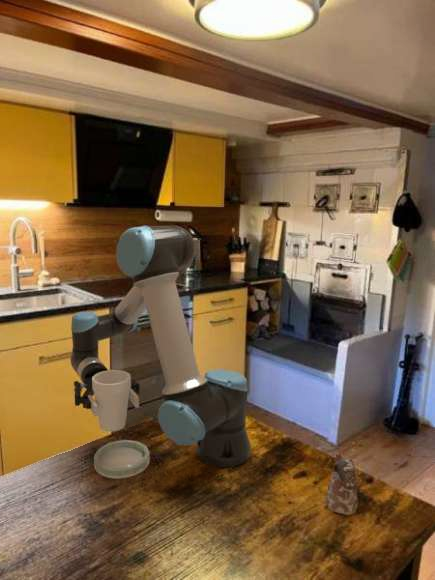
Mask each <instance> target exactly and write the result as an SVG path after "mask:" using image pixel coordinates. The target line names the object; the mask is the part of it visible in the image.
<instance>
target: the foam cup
mask: <svg viewBox="0 0 435 580" xmlns="http://www.w3.org/2000/svg"><path fill="white" fill-rule="evenodd" d="M131 380H132V377H131V374H130V373H129V372H127V371H125V370H119V369H117V370H116V369H110V370H109V369H108V371H102V372H100V373H97V374H95V375H94V376H93V377H92V389H93V391H94V395H93V396H94V400H95V402H96V404H97V405H98V416H97V419H98V425H99V428H100V429H101V430H102V431H104V432H116V431H120V430H121V429H122V430H123V428H124V427H126V422H127V421H126V420H127V414H128V407H129V406H128V405H129V391H130V387H131Z"/></svg>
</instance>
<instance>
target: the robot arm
mask: <svg viewBox="0 0 435 580" xmlns="http://www.w3.org/2000/svg"><path fill="white" fill-rule="evenodd" d="M196 251H197V250H196V242H195V240H194V237H193V236H192V234H191V233H190V232H189V231H188V230H186V229H185V228H183V227H181V226H178V225H169V224H168V225H142V226H137V227H136V226H135V227H131V228H128V229H127V230H125V231H124V232H123V233H122V234H121V235H120V237H119V241H118V243H117V245H116V251H115V252H116V253H115V257H116V258H115V259H116V263H117V266H118V269H120V271H121V272H122V273H123V274H124V275H125V276H128V277H131V280H132V283H133V286H132V287H131V289H130V290H129V291H128V292H127V293H126V295H125V296H124V297H123V299H122V300H121V301H120V302H119V303H118V305H117V306H116V307H115V308H114V310H113V311H112V312H110V313H107V314H106V313H105V314H103V315H98V314H97V313H96V312H94V311H88V310H87V311H79V312H76V313H74V314H73V315H72V317H71V324H70V325H71V338H72V353H71V355H70V365H71V368H72V369H73V370H74V371H75V373H76V374H77V376H78V378H79V379H80V381H81V382H79V381H78V380H75V381H73V391H74V406H76V407H77V406H80V405H82V408H83V409H86V410H90V411H91V413H92V415H93V416H94V418H95V417H96V418H98V405H97V404H96V402H95V398H93V396H94V391H93V389H92V377H93V376H94V375H95V374H97V373H100V372H102V371H108V370H109V369H108V368H107V367H106V366H105V364H104V363H103V362H102V361H101V359H100V357H99V342H100V341H103V340H107V339H110V338H114V337H118V336H121V335H126V334H129V333H130V332H133V331H135V330H136V329H137V326H138V324H139V323H138V322H139V321H138V319H139V318H140V317H141V316H142V315H143V314H144V312H145V311H146V313H147V316H148V320H149V324H150V329H151V332H152V336H153V339H154V343H155V346H156V347H155V348H156V352H157V355H158V358H159V362H160V365H161V371H162V374H163V378H164V382H165V386H164V388H162V391H161V395H162V399H163V402H162V404H161V405H160V406H159V408H158V412H157V420H158V424H159V426H160V428H161V431H163V433H164V435H165V436H166V437H167V438H168V439H170V440H171V441H172V442H173V443H175V444H177V445H180V446H185V447H186V446H191V445H193V444H195V443H196V455H197V457H198V458H199V459H200V460H201V461H202V462H204V463H205V464H208V465H210V466H214V467H217V468H219V467H220V468H231V467H237V466H240V465H242V464H244V463H245V462H247V461H248V459H250V457H251V454H252V453H251V452H252V451H251V449H252V445H251V442H250V439H249V434H248V431H247V427H246V423H247V422H246V421H247V407H248V406H247V403H248V391H249V390H248V381H247V378H246V377H245V375H243V374H241V373H240V372H237V371H234V370H227V369H211V370H208V371H206V372H205V374H204V376H202V374H200V371H199V368H198V364H197V360H196V356H195V353H194V348H193V344H192V342H191V337H190V332H189V330H188V325H187V322H186V318H185V314H184V311H183V306H182V304H181V303H182V302H181V298H180V296H179V295H180V294H179V291H178V288H177V284H176V281H177V279H178V278H180V277H181V276H182V275H183V274H184V273H185V272H186V271H187V270H188V269H189V267H190V266H191V264H192V263H193V261H194V259H195V256H196V253H197V252H196ZM140 387H141V386H140V383H138V382H137V381H135V380H133V379H131V387H130V391H129V399H128V401H130V402H131V403H132V404H133V406H134V407H135V408H136V409H138V408H140V397H139V394H140V393H141V392H140V389H141V388H140ZM83 389H86V390H85V391H84V392H83ZM81 392H83V394H82V393H81Z"/></svg>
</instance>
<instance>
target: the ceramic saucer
mask: <svg viewBox="0 0 435 580" xmlns="http://www.w3.org/2000/svg"><path fill="white" fill-rule="evenodd" d="M150 454H151V452H150V451H149V449H148V447H147V445H146V444H145V443H141V442H139V441H137V440H131V439H130V440H129V439H121V440H116V441H111V442H108V443H107V444H105V445H102V446H101V447H99V448H98V449H97V451H96V452H95V454H94V455H93V466H94V467H93V468H94V470H95V471H96V473H97V474H98V475H100V476H102V477H105V478H107V479H115V480H116V479H117V480H119V479H127V478H132V477H134V476H137V475H138V474H141V473H142V472H144V471H145V470H147V468H148V466H149V464H150V460H151V457H150Z"/></svg>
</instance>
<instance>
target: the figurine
mask: <svg viewBox="0 0 435 580" xmlns="http://www.w3.org/2000/svg"><path fill="white" fill-rule="evenodd" d="M335 457H336V461H334V463H333V465H332V472H333V473H332V476H331V477H330V479H329V482H328V486H327V488H326V493H325V504H326V506H327V507H328V509H330V511H332V512H334V513H338V514H342V515H345V516H349V515H352V514H355V513H356V511H357V508H358V505H359V504H358V503H359V500H358V482H359V479H358V478H357V475H356V470H355V462H354V461H353V460H352V459H351V458H350V457H343V456H342V455H341V453H340V452H339V453H335Z"/></svg>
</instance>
